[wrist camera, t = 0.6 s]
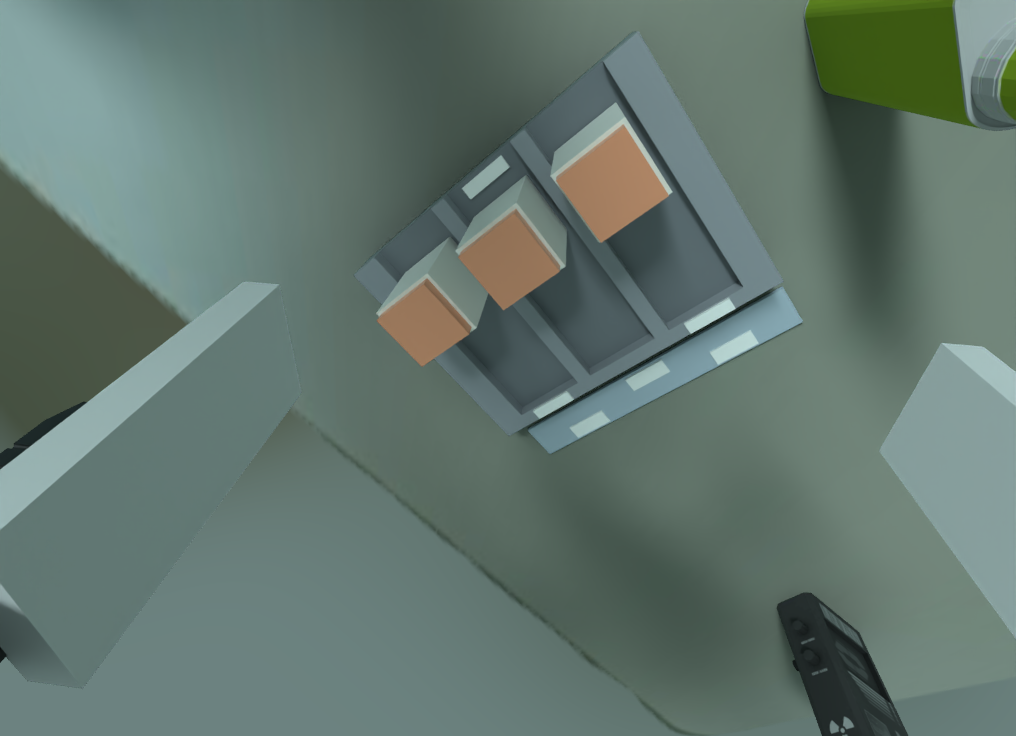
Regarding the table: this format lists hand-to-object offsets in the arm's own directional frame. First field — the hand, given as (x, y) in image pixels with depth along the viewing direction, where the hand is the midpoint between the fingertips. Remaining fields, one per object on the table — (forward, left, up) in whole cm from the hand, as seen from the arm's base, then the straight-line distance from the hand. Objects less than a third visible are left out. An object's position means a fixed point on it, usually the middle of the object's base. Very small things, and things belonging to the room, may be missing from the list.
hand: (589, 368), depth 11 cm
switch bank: (+5, -5, -24) cm, 25 cm away
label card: (+16, -5, -24) cm, 29 cm away
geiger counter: (+50, -7, -24) cm, 56 cm away
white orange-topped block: (+1, +1, -22) cm, 22 cm away
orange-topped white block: (+1, -5, -22) cm, 23 cm away
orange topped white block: (+1, -11, -22) cm, 25 cm away
